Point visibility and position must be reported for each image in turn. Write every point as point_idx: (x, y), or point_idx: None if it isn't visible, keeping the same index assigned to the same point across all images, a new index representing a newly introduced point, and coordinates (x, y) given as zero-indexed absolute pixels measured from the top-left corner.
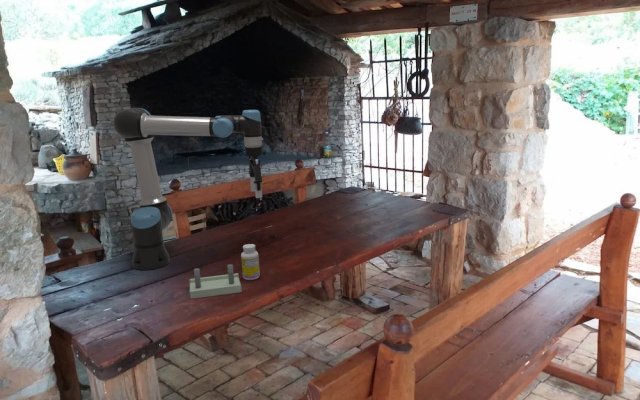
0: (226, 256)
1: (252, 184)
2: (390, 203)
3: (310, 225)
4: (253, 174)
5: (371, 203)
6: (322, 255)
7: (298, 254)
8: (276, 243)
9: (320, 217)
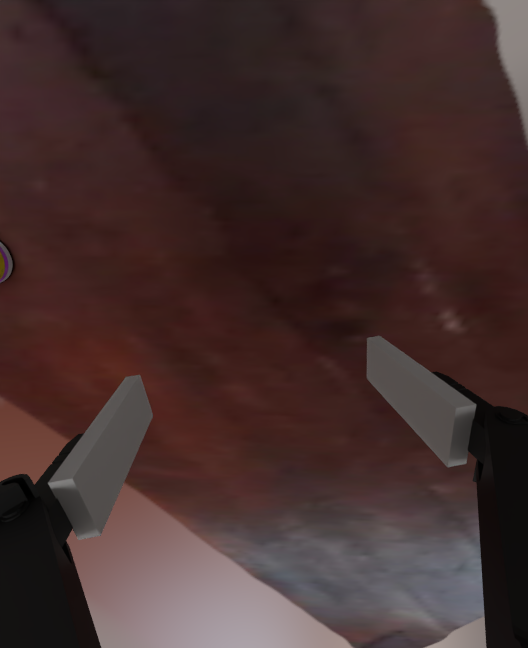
0: (191, 175)
1: (400, 379)
2: None
3: (408, 427)
4: (481, 473)
5: None
6: (157, 440)
7: (174, 389)
8: (282, 337)
9: None
